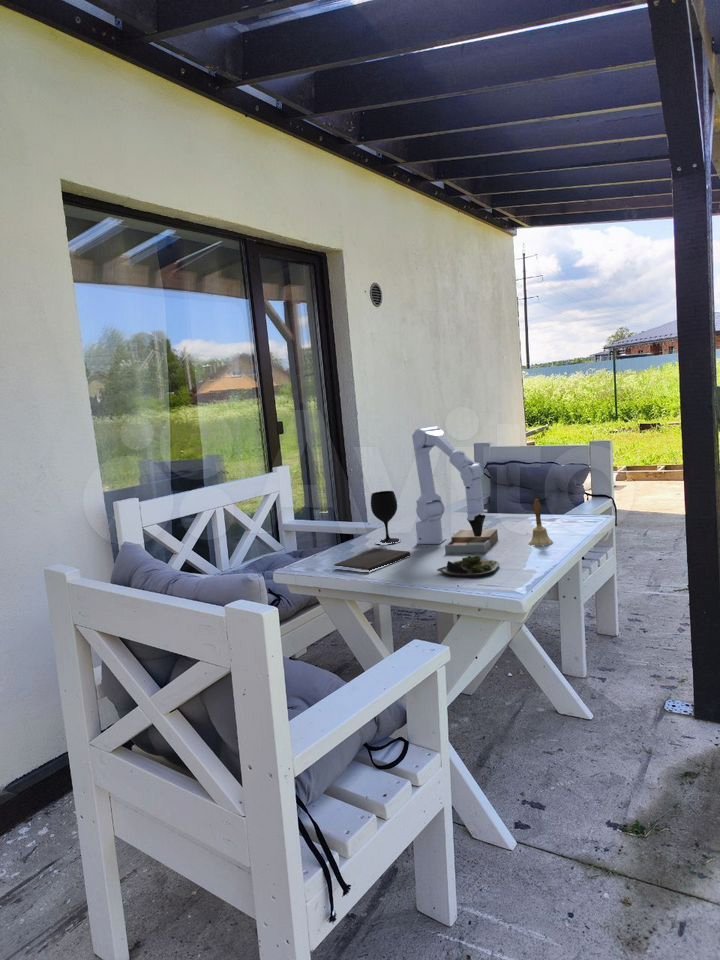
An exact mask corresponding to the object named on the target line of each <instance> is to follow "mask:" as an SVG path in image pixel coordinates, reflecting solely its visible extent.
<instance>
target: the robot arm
mask: <svg viewBox="0 0 720 960" xmlns="http://www.w3.org/2000/svg"><path fill="white" fill-rule="evenodd" d="M411 436H412V444H413V450H414V451H413V452H414V457H415V462H416V470H417V476H418V481H419V488H420V496H419V497H418V498H417V500H416V510H415V511H416V516H417V518H418V520H417V521H416V523H415V531H416V532H415V533H416V544H417V545H428V544H429V545H430V544H431V545H432V544H433V545H434V544H435V545H436V544H437V545H440V544H442V543H443V542H444V541H445V540H447V537H444V536H443V529H442V526H443V525H442V518H443V515H444V513H445V505H444V503H443V500H442V497H441V495H439V494H438V493H436V489H435V487H436V486H435V482H434V476H433V469H432V462H431V457H430V456H431V455H430V452H431V450H432V449H433V448H434V447H435V446H436V447H437V448H438V449H439V450H441V452H443V453H444V454H445V455H447V456H448V457H449V458H448V459H449V463H450V464H451V465H452V466H453V467H454V469H456V470H457V471H458V472H459V476H460V478H461V480H462V481H463V486H464V489H465V500H466V508H467V509H466V515H467V517H466V519H467V522H468V523H469V525H470V527H471V530H473V533H474V536H475V537H481V535H482V530H483V528H484V527H483V525H484V522H485V519H486V513H488V509H484V507H485V506H484V495H483V484H482V479H483V478H484V475H485V469H484V467H483V465H482V464H481V463H480V462H475V461H473V460H472V459H471V458H470V457H468V455H466V453H465V452H464V450H457V449H456V448H455V447H454V446H453V444H451V442H450V441H449V440H448V439H447V438H446V437H445V433H444V430H442V429H441V428H440V426H437V425H435V426H430V427H425V428H417V429H415V430H414V432H413V434H412V435H411Z"/></svg>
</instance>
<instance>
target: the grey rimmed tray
mask: <svg viewBox="0 0 720 960" xmlns="http://www.w3.org/2000/svg"><path fill="white" fill-rule="evenodd" d="M452 544H453V540H450V541H448V542H447V543H446V544H445V545H444V550H445V555H451V554H452V555H454V554H455V555H457V554H459V555H464V554H465V553H472V554H473V555H475V554H474V553H481V555H482V553H485V554H486V553H487V552H488V551H489V550H490V549H491V548H490V540H487V541H486V542H485V543H484V544H483V545H452ZM489 548H490V549H489ZM465 555H466V554H465Z"/></svg>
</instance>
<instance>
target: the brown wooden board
mask: <svg viewBox="0 0 720 960" xmlns="http://www.w3.org/2000/svg"><path fill="white" fill-rule="evenodd" d="M498 534H499V533H498V529H497V528H496V529H493V528H492V529H488V528H487V529H482V535H481V537H475V536H474V533H473V530H472V529H459V531H457V532H456V533H455V534H453V536H451V538H450V539H451V540H453V544H454V543H468V545H469V543H485V542H486V541H487V540H490V547H491V546H492V545H493V544H494V543H495V542H496V541H497V542H498V540H499V536H498ZM451 540H450V541H451ZM495 544H496V543H495ZM495 544H494V545H495ZM494 545H493V546H494ZM493 546H492V547H493ZM492 547H491V548H492Z"/></svg>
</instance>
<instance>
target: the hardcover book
mask: <svg viewBox="0 0 720 960" xmlns="http://www.w3.org/2000/svg"><path fill="white" fill-rule="evenodd" d="M410 555H411V552H410V551H408V550H397V549H396V550H395V549H387V548H386V549H385V548H373V549H372V550H371V549H370V550H369V551H366V552H363V553H360V554H358V555H355V556H352V557H350V558H347V559H345V560H342V561H340V562H337V563H334V564H333V566H334V567H335V566H343V567H349V568H355V569H361V570H369V571H370V570H372V569H375V568H378V567H381V566H384V565H387V564H390V563H393V562H395V561H398V560H400V559H403V558H405V557H407V556H410ZM410 557H411V556H410ZM405 559H406V558H405ZM403 560H404V559H403ZM398 562H399V561H398ZM393 564H394V563H393Z"/></svg>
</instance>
